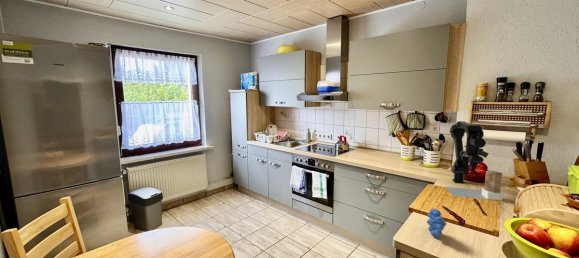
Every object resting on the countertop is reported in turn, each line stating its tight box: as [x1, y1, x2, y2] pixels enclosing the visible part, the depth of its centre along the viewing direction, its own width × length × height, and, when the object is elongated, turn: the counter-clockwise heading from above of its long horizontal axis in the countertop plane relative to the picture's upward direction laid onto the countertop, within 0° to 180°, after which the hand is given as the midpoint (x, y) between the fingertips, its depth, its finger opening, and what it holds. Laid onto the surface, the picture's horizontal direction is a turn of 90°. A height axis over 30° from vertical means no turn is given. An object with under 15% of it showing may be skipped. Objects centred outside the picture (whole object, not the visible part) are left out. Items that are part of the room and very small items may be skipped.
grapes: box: [426, 208, 447, 238], centre depth 99 cm, size 12×7×12 cm, turn 169°
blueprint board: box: [444, 186, 504, 203], centre depth 145 cm, size 16×24×5 cm, turn 74°
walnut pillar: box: [483, 170, 503, 193], centre depth 137 cm, size 5×5×11 cm
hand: (469, 169), depth 151 cm, fingers open, 9 cm apart
